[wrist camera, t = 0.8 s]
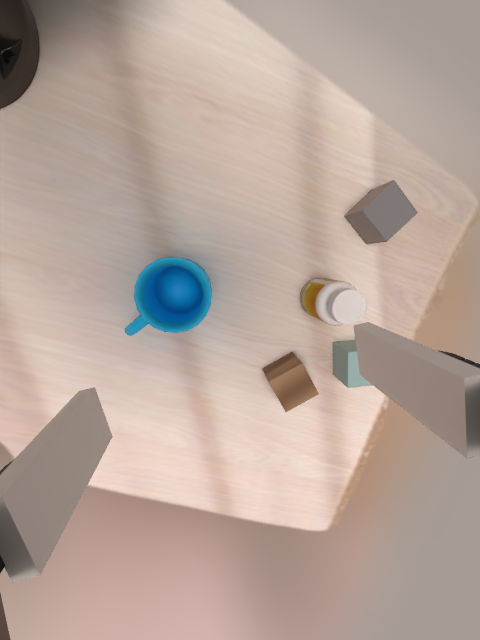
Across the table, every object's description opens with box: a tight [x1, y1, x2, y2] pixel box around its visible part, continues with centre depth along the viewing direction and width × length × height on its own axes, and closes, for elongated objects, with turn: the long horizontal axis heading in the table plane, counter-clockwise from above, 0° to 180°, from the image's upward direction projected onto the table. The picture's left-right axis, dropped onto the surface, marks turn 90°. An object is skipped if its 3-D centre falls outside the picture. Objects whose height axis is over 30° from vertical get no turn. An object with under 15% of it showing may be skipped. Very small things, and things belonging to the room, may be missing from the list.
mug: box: [125, 257, 211, 336], centre depth 36 cm, size 12×8×8 cm
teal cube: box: [333, 340, 372, 388], centre depth 42 cm, size 5×5×5 cm
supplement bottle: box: [300, 278, 367, 326], centre depth 37 cm, size 5×5×10 cm
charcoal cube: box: [344, 180, 418, 244], centre depth 38 cm, size 5×5×5 cm
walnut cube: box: [262, 352, 318, 412], centre depth 41 cm, size 5×5×5 cm
